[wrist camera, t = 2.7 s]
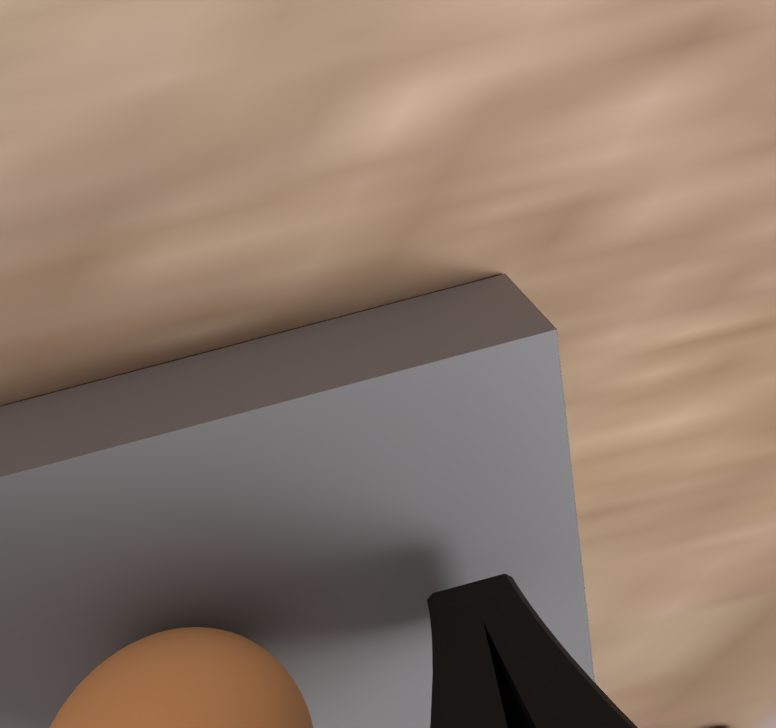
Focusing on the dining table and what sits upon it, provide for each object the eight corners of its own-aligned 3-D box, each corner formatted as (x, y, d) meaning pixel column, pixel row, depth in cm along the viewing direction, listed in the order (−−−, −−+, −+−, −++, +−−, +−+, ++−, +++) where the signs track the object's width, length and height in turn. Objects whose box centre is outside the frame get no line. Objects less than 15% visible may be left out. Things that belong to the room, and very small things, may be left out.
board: (561, 667, 17) (603, 763, 15) (-288, 905, 16) (-377, 1042, 14) (505, 273, 12) (556, 329, 10) (-736, 600, 11) (-989, 740, 9)
